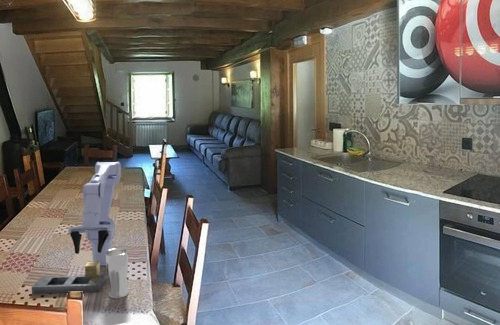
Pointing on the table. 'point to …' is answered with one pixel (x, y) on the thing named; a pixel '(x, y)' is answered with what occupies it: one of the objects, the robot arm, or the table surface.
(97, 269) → the block
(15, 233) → the table surface
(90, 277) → the rail
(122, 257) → the beer glass
